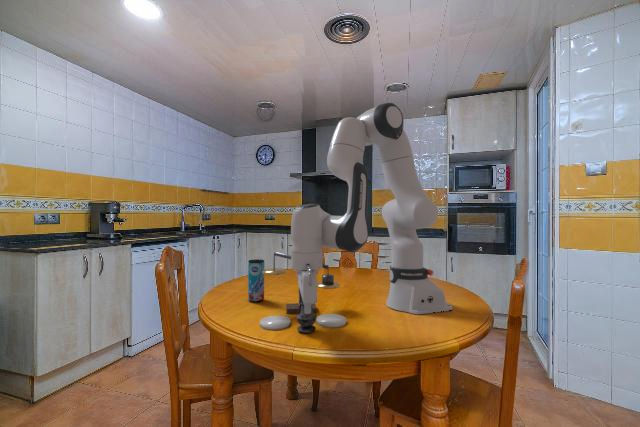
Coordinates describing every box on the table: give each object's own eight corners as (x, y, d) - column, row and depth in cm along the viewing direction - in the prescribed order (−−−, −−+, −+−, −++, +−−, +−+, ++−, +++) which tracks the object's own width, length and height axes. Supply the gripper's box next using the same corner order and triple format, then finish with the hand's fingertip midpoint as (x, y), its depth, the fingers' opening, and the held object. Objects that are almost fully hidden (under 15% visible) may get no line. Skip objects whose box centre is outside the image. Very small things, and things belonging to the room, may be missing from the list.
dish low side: (342, 316, 99) (343, 313, 99) (349, 327, 90) (349, 323, 90) (315, 317, 97) (315, 314, 97) (318, 328, 89) (318, 324, 89)
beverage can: (246, 302, 112) (246, 261, 112) (250, 298, 118) (250, 259, 118) (262, 302, 112) (262, 262, 112) (265, 298, 118) (265, 259, 118)
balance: (336, 305, 110) (337, 249, 110) (341, 312, 102) (342, 252, 102) (262, 307, 107) (262, 250, 107) (260, 315, 99) (261, 253, 99)
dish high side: (289, 318, 96) (289, 315, 96) (290, 329, 88) (290, 325, 87) (260, 319, 95) (260, 316, 95) (258, 330, 86) (258, 326, 86)
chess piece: (314, 333, 83) (314, 289, 83) (293, 332, 84) (293, 288, 84) (318, 325, 89) (319, 284, 89) (299, 324, 90) (299, 283, 90)
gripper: (323, 268, 76) (323, 323, 77) (313, 255, 97) (313, 299, 97) (297, 268, 76) (297, 324, 76) (293, 256, 96) (293, 300, 96)
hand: (306, 310), depth 87 cm, fingers closed on chess piece, 3 cm apart
